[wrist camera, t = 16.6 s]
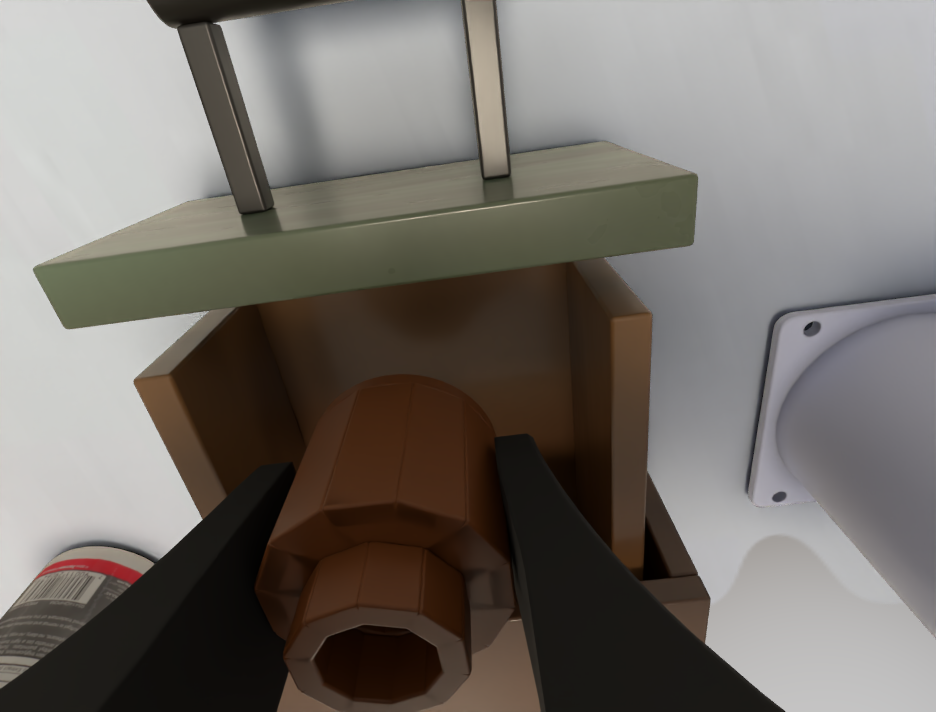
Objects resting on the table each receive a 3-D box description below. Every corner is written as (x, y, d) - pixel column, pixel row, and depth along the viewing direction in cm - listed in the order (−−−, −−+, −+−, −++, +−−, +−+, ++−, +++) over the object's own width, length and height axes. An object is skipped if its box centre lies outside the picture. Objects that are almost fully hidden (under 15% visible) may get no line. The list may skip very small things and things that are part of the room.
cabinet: (278, 455, 19) (182, 653, 12) (620, 414, 18) (712, 599, 12) (362, 673, 25) (328, 882, 18) (619, 647, 24) (678, 853, 18)
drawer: (105, -12, 12) (-169, -89, 6) (605, -94, 11) (731, -247, 6) (312, 534, 19) (262, 691, 14) (610, 500, 19) (665, 651, 14)
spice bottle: (486, 361, 10) (507, 548, 6) (506, 509, 12) (532, 730, 8) (292, 385, 10) (182, 585, 6) (340, 527, 12) (280, 754, 8)
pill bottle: (159, 641, 24) (-14, 964, 15) (34, 599, 22) (-238, 931, 13) (201, 571, 21) (28, 899, 13) (66, 521, 20) (-231, 853, 11)
